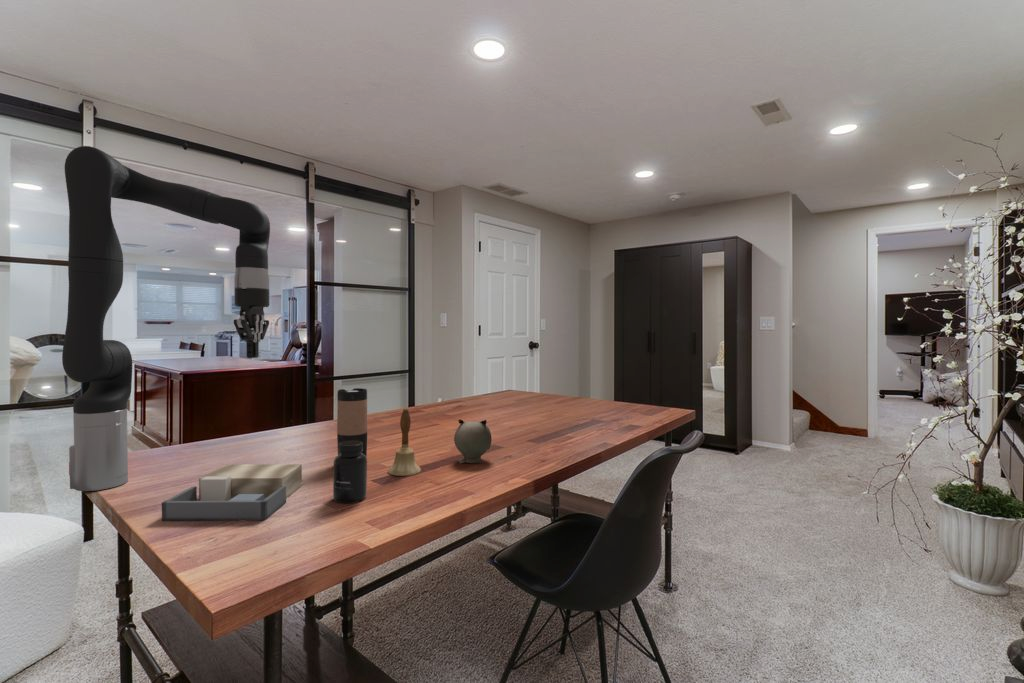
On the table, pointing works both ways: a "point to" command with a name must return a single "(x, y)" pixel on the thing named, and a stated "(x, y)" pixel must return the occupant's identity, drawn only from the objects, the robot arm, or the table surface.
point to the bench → (260, 478)
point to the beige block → (215, 488)
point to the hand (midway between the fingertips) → (252, 357)
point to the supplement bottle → (350, 473)
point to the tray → (220, 507)
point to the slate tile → (248, 497)
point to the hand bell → (404, 452)
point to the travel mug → (352, 417)
